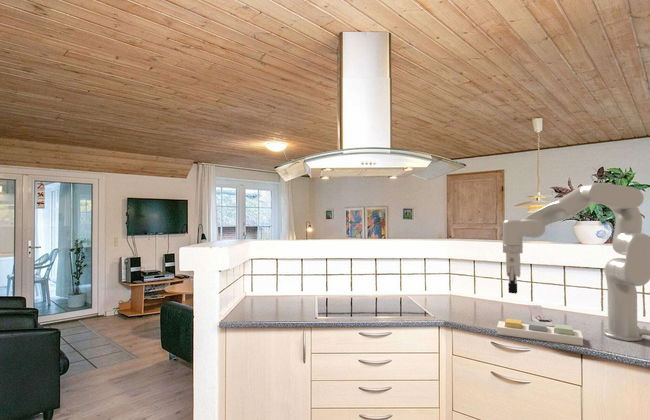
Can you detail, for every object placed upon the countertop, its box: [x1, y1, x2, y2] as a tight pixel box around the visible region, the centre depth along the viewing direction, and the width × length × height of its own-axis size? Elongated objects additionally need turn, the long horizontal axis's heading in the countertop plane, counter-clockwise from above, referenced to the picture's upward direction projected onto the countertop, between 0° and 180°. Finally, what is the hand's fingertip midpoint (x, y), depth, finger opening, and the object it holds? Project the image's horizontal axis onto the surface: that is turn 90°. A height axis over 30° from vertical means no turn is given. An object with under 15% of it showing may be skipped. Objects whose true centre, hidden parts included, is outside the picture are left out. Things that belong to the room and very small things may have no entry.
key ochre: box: [504, 317, 523, 329], centre depth 163 cm, size 6×6×2 cm
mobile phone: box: [527, 304, 555, 328], centre depth 176 cm, size 6×6×25 cm
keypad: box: [496, 320, 584, 346], centre depth 159 cm, size 30×10×3 cm, turn 61°
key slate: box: [529, 320, 547, 332], centre depth 159 cm, size 6×6×2 cm
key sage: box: [554, 323, 574, 335], centre depth 154 cm, size 6×6×2 cm
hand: (512, 292), depth 163 cm, fingers closed
